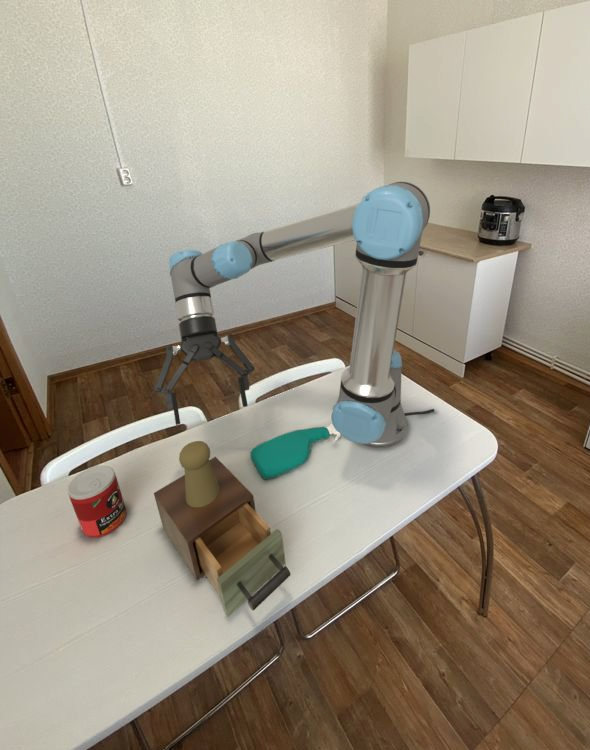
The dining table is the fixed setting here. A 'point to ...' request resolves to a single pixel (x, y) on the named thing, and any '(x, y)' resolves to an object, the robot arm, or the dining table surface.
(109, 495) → the canned food
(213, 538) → the drawer
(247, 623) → the dining table surface
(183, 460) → the cork
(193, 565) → the cabinet
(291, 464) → the spray bottle
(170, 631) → the dining table surface
